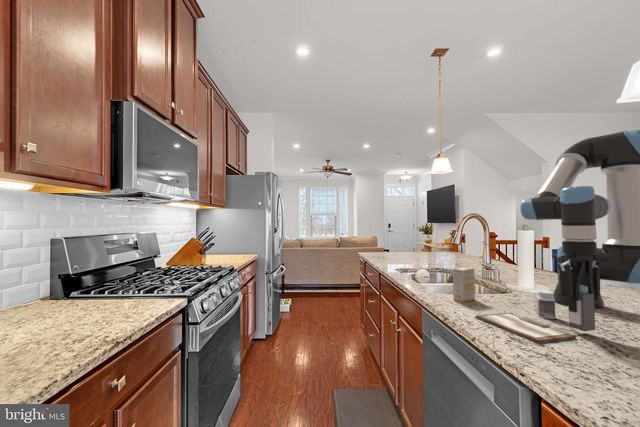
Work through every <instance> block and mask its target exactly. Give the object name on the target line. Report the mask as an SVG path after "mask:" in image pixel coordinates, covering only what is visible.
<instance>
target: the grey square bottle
mask: <svg viewBox="0 0 640 427" xmlns="http://www.w3.org/2000/svg"><path fill="white" fill-rule="evenodd" d="M573 296H574V295H573ZM578 301H581V318H582V325H578V324H575V323H572V322H570V319H569V318H568V322H569V328H573V329H576V330H579V331H581V332H590V331H596V319H595V318H596V317H595V316H596V314H595V309H594V294H591V293H588V286H584V285H580V290H579V298H578Z"/></svg>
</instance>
